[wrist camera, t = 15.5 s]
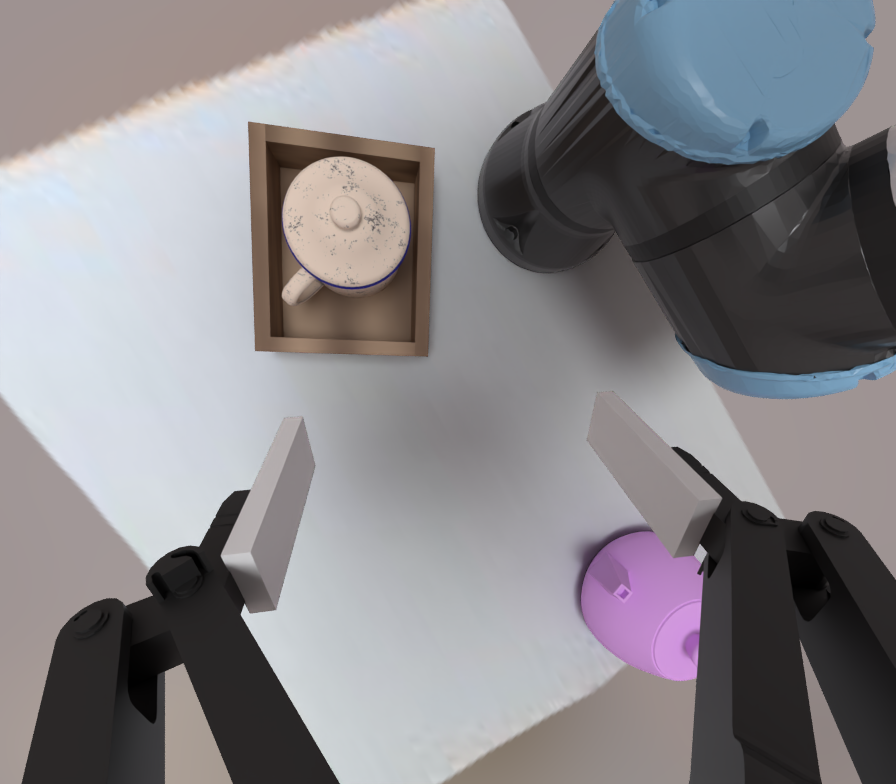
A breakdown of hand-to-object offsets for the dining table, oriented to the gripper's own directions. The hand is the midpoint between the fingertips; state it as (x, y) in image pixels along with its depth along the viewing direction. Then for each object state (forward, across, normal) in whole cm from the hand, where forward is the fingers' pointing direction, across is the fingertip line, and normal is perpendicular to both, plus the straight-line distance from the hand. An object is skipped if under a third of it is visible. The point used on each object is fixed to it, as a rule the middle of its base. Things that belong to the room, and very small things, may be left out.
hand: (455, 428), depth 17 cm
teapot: (+13, +24, -36) cm, 45 cm away
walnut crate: (+25, -7, +3) cm, 26 cm away
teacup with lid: (+24, -7, +3) cm, 25 cm away
